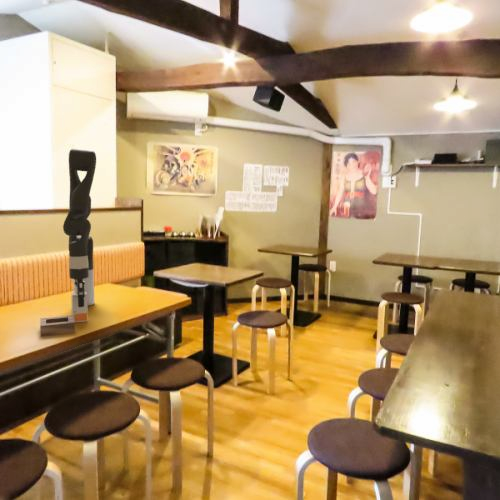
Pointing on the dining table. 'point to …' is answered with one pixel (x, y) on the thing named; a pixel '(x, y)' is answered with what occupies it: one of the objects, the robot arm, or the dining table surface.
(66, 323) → the grey slotted box
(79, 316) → the skincare box
